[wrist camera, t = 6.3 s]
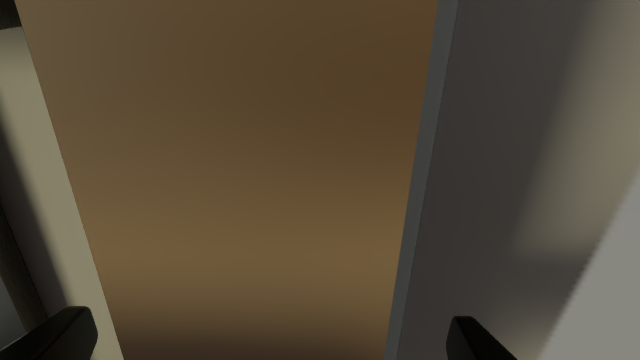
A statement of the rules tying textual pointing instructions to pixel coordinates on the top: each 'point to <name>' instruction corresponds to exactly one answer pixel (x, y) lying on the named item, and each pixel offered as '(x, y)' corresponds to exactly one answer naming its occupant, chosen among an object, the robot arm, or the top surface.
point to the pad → (421, 165)
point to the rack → (14, 255)
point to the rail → (238, 165)
